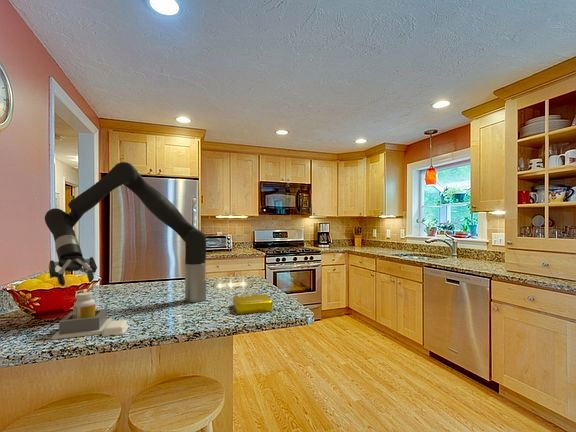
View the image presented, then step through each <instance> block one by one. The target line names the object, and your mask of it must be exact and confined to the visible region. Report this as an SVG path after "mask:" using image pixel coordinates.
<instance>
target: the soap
mask: <svg viewBox="0 0 576 432" xmlns="http://www.w3.org/2000/svg"><path fill="white" fill-rule="evenodd" d="M128 328H129V324H128V321H127V320H126V319H124V320H123V319H121V320H119V319H118V320H112V321H111V322H110V323H109V324H108V325H107V326H106V327H105V328H104V331H103V333H102V334H101V337H110V336H112V335H114V336H120V335H123V334H125V333H126V332H127V330H129V329H128Z"/></svg>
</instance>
